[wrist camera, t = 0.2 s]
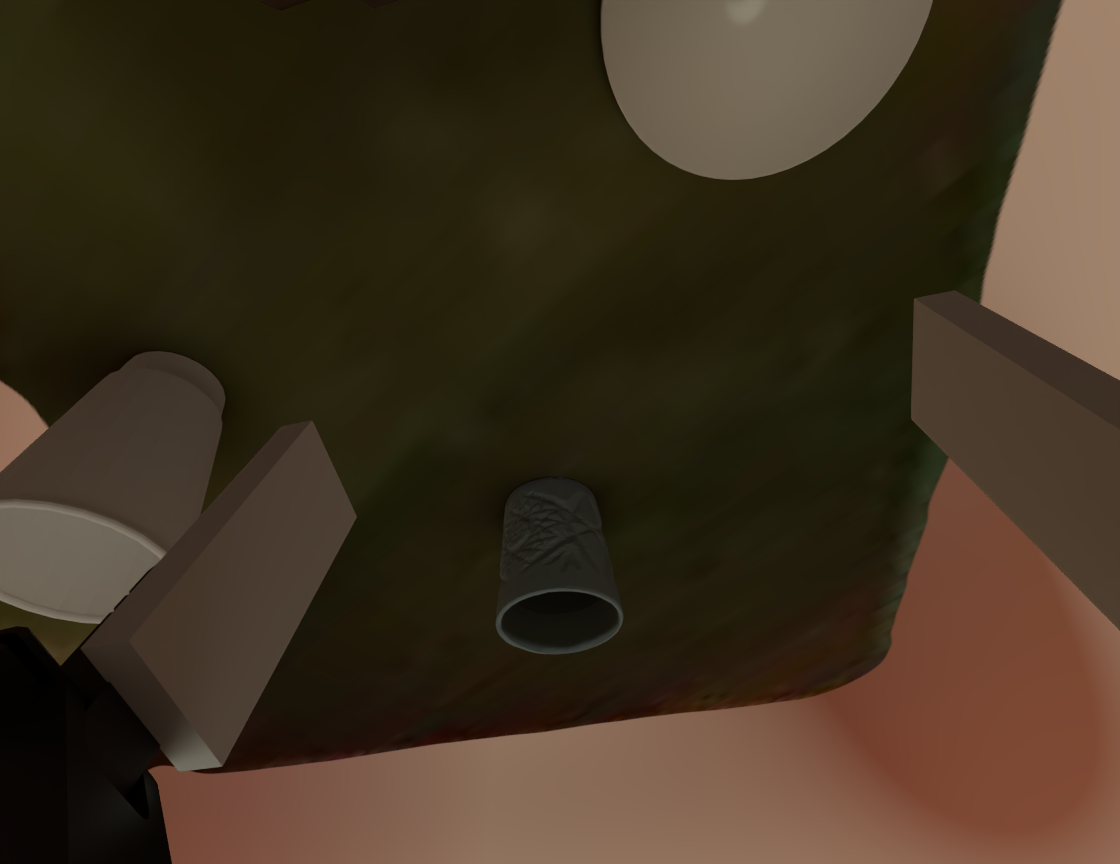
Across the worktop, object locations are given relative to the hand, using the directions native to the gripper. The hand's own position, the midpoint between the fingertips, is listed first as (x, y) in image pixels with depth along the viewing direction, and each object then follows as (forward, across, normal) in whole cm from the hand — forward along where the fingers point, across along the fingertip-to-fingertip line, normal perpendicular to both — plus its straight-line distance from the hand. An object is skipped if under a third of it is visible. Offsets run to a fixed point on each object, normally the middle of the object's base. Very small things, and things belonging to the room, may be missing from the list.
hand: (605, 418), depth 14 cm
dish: (+26, +10, +8) cm, 29 cm away
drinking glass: (+36, -9, -26) cm, 46 cm away
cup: (+30, -33, -6) cm, 45 cm away
